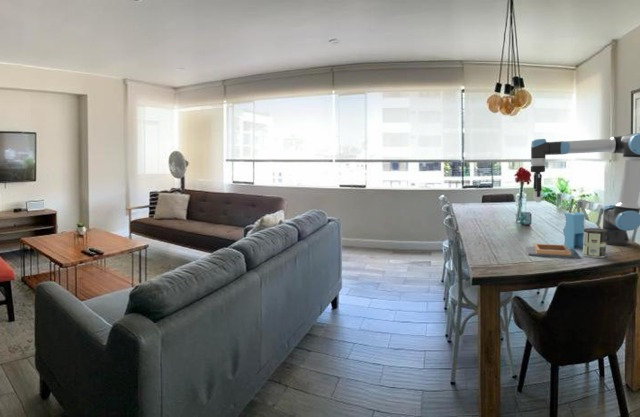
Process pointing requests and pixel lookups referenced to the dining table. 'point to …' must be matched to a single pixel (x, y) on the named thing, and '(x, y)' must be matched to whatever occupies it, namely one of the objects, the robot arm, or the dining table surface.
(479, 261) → the dining table surface
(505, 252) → the dining table surface
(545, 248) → the collar plate
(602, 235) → the coffee can
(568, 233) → the open-sided blue scoop
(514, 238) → the dining table surface
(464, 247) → the dining table surface
